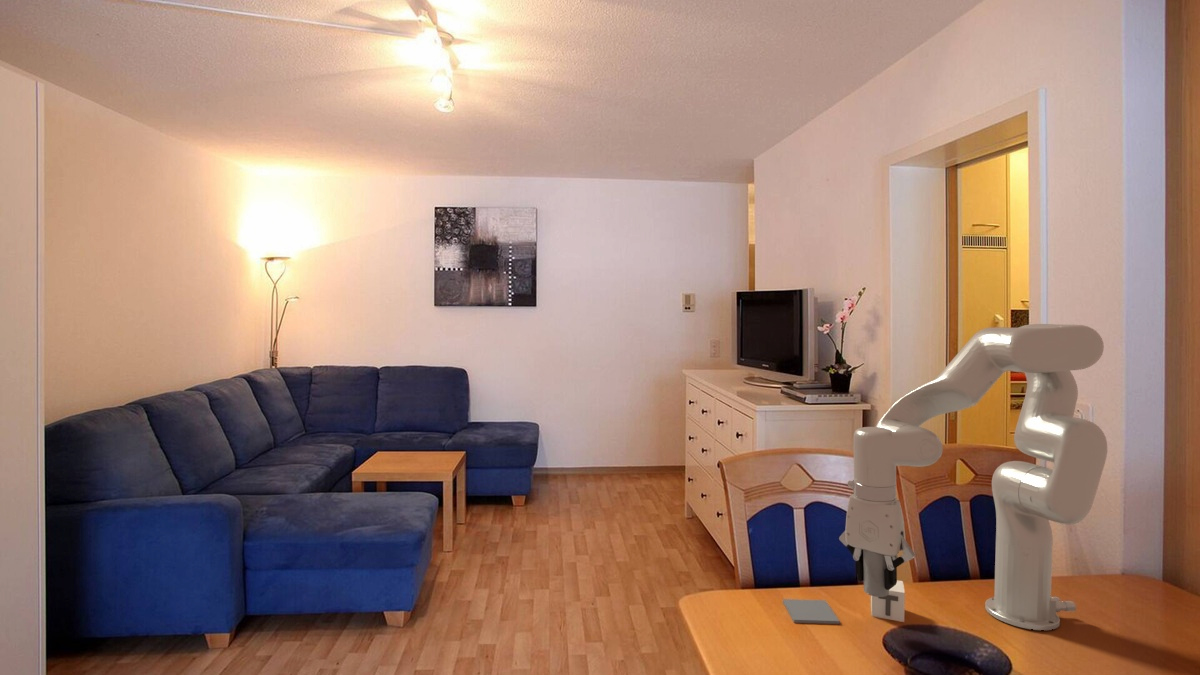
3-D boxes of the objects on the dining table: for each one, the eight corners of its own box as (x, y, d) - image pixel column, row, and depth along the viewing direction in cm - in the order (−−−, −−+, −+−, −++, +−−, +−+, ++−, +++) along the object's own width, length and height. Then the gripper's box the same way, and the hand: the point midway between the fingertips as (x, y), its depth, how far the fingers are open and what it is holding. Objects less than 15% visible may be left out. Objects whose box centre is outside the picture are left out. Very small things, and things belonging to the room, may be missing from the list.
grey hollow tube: (884, 587, 123) (883, 536, 122) (892, 597, 118) (891, 544, 118) (860, 586, 123) (859, 536, 123) (868, 597, 118) (867, 544, 118)
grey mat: (825, 602, 131) (825, 600, 131) (839, 624, 122) (839, 621, 122) (782, 601, 132) (782, 599, 132) (793, 622, 123) (794, 619, 123)
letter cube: (870, 604, 131) (871, 576, 131) (902, 609, 129) (902, 581, 129) (871, 617, 125) (872, 588, 125) (904, 623, 123) (904, 593, 123)
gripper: (824, 487, 123) (825, 576, 124) (912, 505, 111) (913, 604, 112) (842, 479, 128) (843, 565, 129) (928, 495, 116) (929, 590, 117)
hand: (876, 582), depth 120 cm, fingers closed on grey hollow tube, 4 cm apart
